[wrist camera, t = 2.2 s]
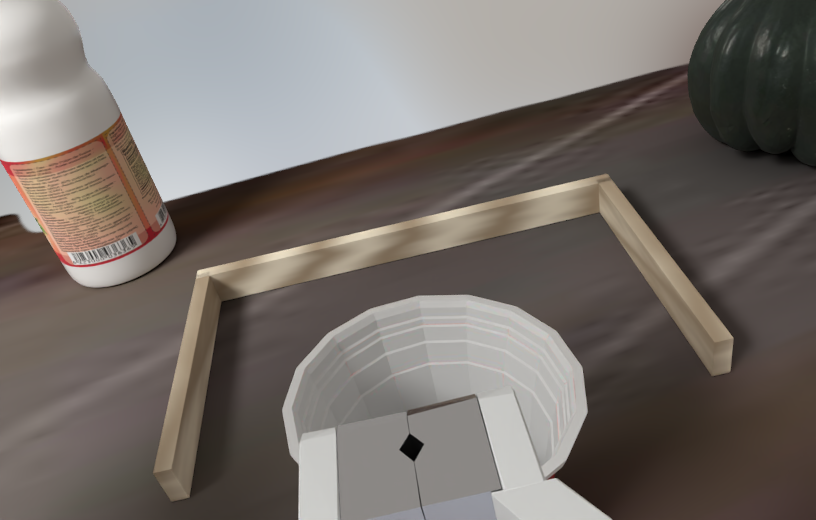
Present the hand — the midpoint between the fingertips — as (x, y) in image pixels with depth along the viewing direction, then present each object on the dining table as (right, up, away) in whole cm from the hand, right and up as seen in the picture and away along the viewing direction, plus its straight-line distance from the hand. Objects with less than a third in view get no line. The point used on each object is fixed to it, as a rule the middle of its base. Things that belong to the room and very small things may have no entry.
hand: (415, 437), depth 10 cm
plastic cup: (+3, -11, +22) cm, 25 cm away
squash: (+30, +12, +45) cm, 55 cm away
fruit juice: (-24, +3, +51) cm, 57 cm away
